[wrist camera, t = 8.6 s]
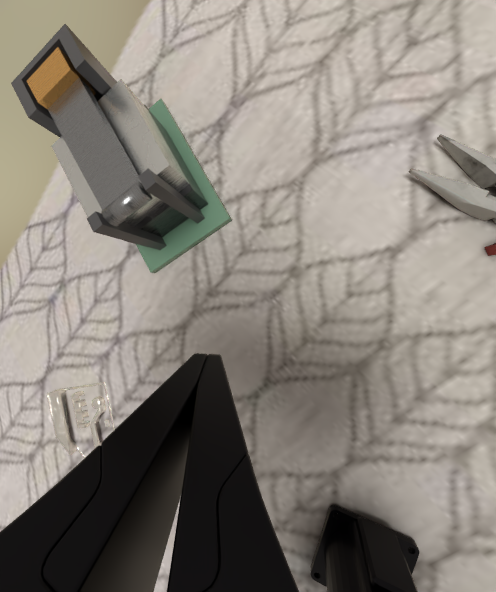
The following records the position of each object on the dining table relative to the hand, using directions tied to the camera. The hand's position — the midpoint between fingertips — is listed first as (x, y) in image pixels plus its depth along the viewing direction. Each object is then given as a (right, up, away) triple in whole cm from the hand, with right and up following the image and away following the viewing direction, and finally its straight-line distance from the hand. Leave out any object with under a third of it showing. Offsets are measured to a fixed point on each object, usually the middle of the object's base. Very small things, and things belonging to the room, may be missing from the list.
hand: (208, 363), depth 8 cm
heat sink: (-7, +12, +14) cm, 20 cm away
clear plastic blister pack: (-16, -11, +18) cm, 26 cm away
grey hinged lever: (-6, +8, +7) cm, 12 cm away
